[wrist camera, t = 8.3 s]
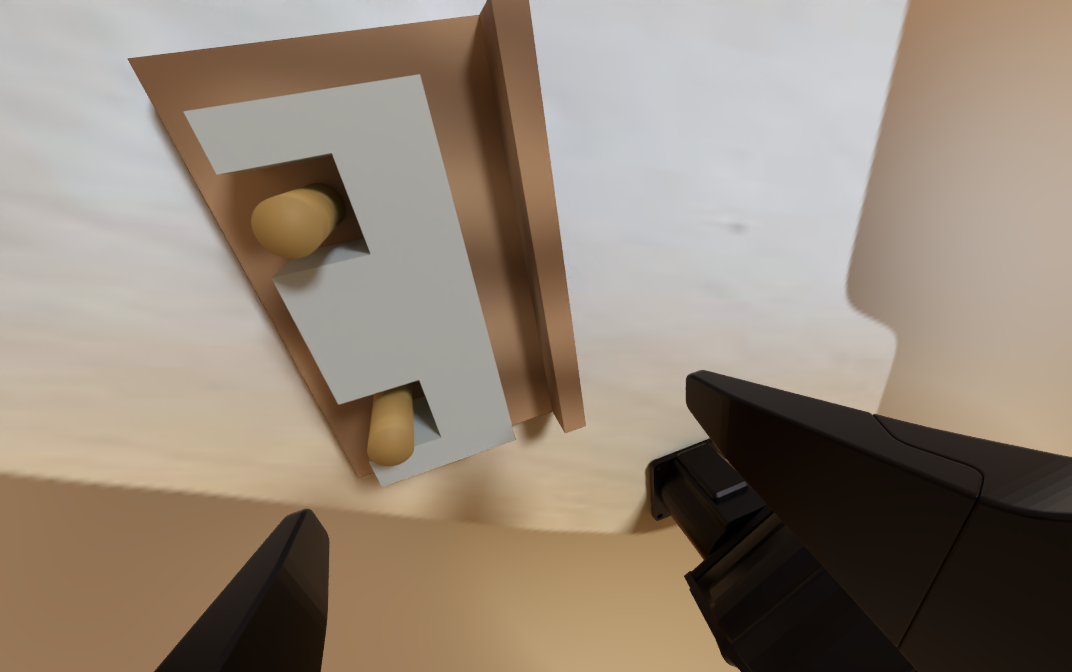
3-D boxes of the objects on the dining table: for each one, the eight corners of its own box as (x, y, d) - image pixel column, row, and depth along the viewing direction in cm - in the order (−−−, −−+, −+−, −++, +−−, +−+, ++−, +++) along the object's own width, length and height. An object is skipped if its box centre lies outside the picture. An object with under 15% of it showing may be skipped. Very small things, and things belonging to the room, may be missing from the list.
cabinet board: (562, 390, 23) (612, 465, 18) (361, 457, 21) (346, 567, 16) (502, 23, 15) (561, -55, 9) (155, 68, 13) (-42, 0, 7)
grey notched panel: (499, 397, 20) (515, 439, 17) (385, 434, 19) (382, 487, 16) (416, 91, 14) (420, 74, 11) (235, 121, 13) (183, 111, 10)
